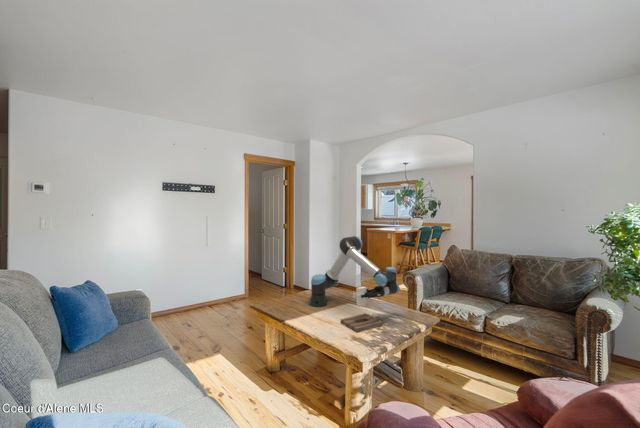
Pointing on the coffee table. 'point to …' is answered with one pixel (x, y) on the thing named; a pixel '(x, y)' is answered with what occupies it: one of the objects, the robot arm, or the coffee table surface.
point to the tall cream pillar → (362, 300)
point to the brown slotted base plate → (357, 326)
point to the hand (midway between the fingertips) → (355, 296)
